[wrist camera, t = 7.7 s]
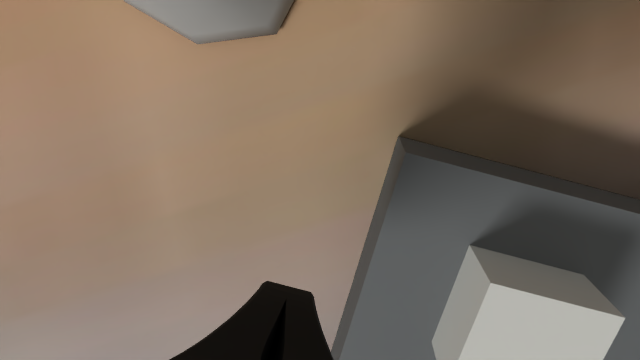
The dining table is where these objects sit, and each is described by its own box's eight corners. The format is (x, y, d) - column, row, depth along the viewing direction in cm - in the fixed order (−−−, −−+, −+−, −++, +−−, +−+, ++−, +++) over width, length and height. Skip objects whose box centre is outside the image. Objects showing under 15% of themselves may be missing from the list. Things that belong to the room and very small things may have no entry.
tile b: (537, 368, 17) (568, 424, 14) (431, 341, 17) (444, 392, 14) (583, 274, 16) (625, 318, 13) (469, 244, 16) (490, 282, 13)
